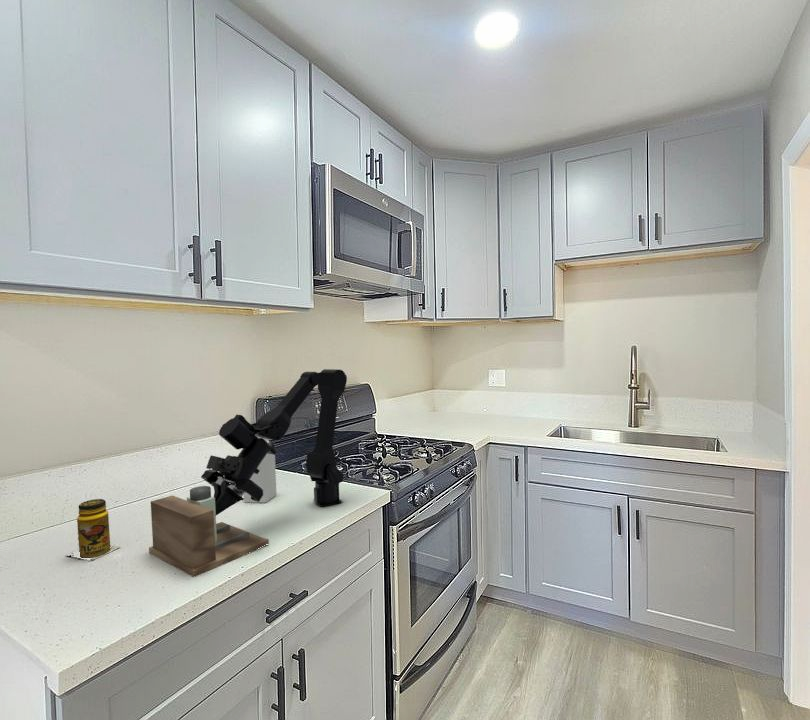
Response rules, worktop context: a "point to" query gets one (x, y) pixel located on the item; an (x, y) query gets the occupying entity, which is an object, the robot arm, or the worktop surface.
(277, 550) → the worktop surface
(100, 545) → the condiment
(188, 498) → the pale green capped bottle
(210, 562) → the knob mount
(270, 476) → the milk carton
